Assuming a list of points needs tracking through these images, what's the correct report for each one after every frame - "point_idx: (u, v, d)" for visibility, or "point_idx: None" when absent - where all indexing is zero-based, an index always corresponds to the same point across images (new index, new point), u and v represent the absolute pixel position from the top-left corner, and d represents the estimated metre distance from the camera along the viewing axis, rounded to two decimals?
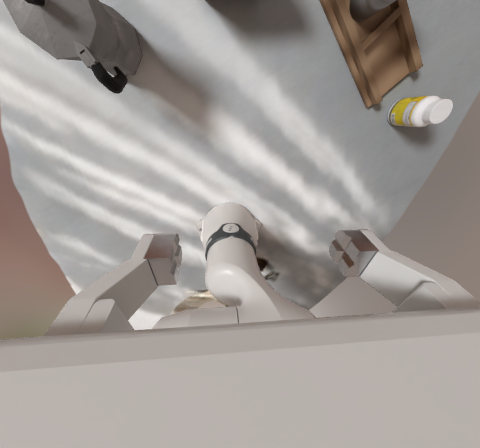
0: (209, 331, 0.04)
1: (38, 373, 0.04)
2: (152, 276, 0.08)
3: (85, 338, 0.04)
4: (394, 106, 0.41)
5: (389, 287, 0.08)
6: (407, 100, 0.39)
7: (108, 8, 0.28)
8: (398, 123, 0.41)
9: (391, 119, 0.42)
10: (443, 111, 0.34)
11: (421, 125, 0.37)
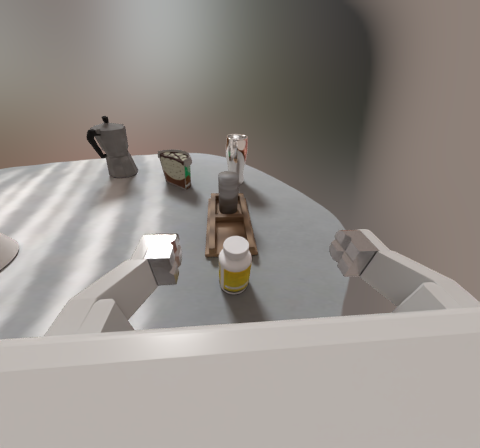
0: (209, 332, 0.04)
1: (38, 373, 0.04)
2: (152, 276, 0.08)
3: (84, 338, 0.04)
4: None
5: (389, 287, 0.08)
6: None
7: (133, 162, 0.66)
8: (219, 275, 0.32)
9: None
10: (238, 245, 0.28)
11: (224, 262, 0.28)
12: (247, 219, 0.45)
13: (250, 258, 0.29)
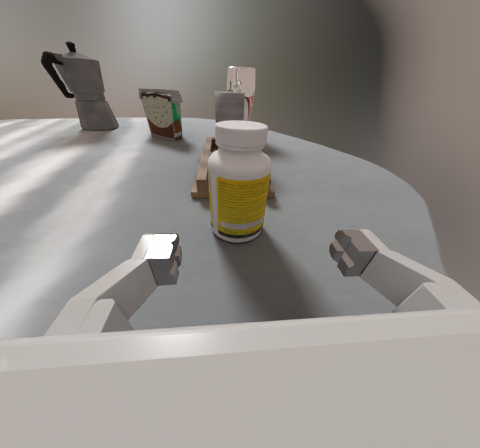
0: (209, 332, 0.04)
1: (38, 373, 0.04)
2: (152, 276, 0.08)
3: (85, 338, 0.04)
4: None
5: (389, 287, 0.08)
6: None
7: (112, 113, 0.53)
8: (210, 206, 0.17)
9: None
10: (246, 125, 0.14)
11: (217, 162, 0.14)
12: None
13: (269, 161, 0.15)
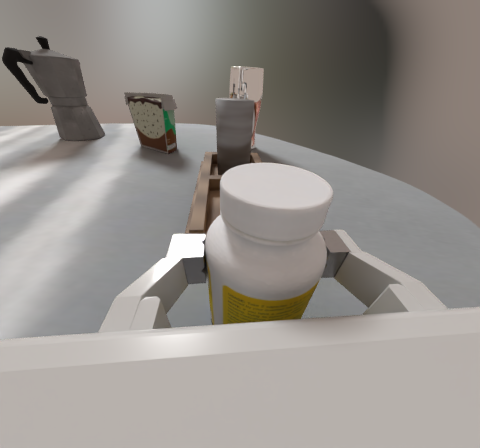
0: (209, 331, 0.04)
1: (38, 373, 0.04)
2: (184, 275, 0.08)
3: (84, 338, 0.04)
4: None
5: (361, 289, 0.08)
6: None
7: (96, 120, 0.46)
8: (210, 302, 0.10)
9: None
10: (286, 183, 0.06)
11: (224, 258, 0.07)
12: None
13: (324, 244, 0.08)
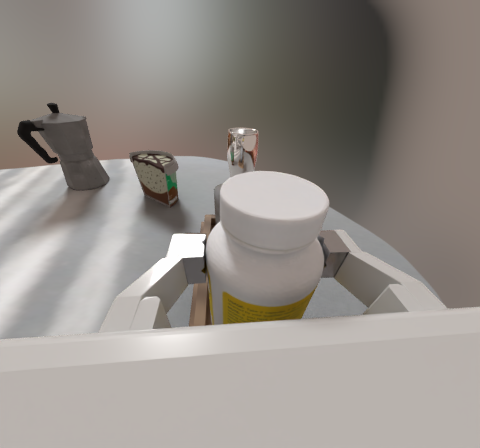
0: (209, 331, 0.04)
1: (38, 373, 0.04)
2: (184, 275, 0.08)
3: (85, 338, 0.04)
4: None
5: (361, 289, 0.08)
6: None
7: (101, 168, 0.49)
8: (210, 306, 0.10)
9: None
10: (283, 192, 0.07)
11: (224, 265, 0.07)
12: None
13: (321, 251, 0.08)
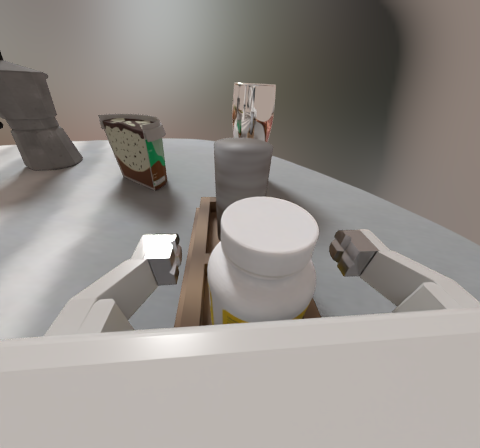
0: (209, 332, 0.04)
1: (38, 373, 0.04)
2: (152, 276, 0.08)
3: (84, 338, 0.04)
4: None
5: (389, 287, 0.08)
6: None
7: (70, 143, 0.38)
8: (211, 318, 0.11)
9: None
10: (278, 222, 0.07)
11: (224, 287, 0.08)
12: None
13: (314, 272, 0.09)
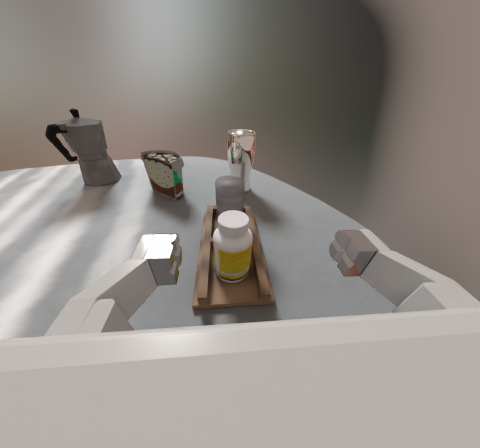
0: (209, 332, 0.04)
1: (38, 373, 0.04)
2: (152, 276, 0.08)
3: (85, 338, 0.04)
4: None
5: (389, 287, 0.08)
6: None
7: (114, 166, 0.54)
8: (214, 259, 0.26)
9: None
10: (236, 219, 0.23)
11: (218, 240, 0.23)
12: (257, 244, 0.31)
13: (251, 237, 0.24)
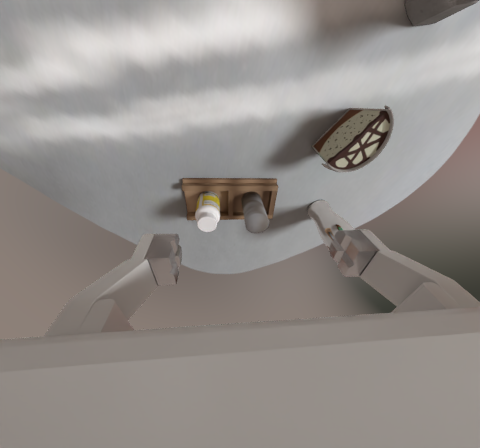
0: (209, 332, 0.04)
1: (38, 373, 0.04)
2: (152, 276, 0.08)
3: (85, 338, 0.04)
4: (218, 198, 0.44)
5: (389, 287, 0.08)
6: None
7: (449, 13, 0.27)
8: (205, 197, 0.42)
9: (210, 193, 0.43)
10: (206, 225, 0.38)
11: (199, 210, 0.38)
12: (224, 218, 0.47)
13: None
